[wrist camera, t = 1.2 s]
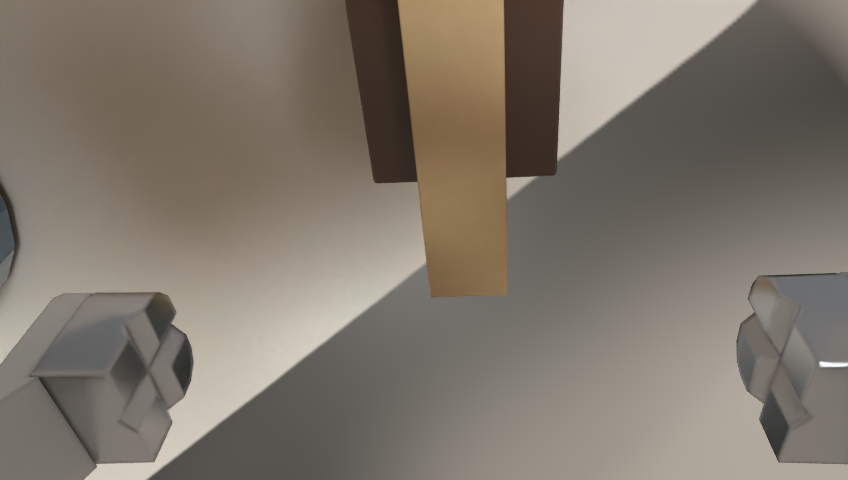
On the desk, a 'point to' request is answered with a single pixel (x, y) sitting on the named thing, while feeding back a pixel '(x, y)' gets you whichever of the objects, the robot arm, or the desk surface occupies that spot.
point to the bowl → (5, 242)
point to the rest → (524, 86)
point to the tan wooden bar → (459, 140)
